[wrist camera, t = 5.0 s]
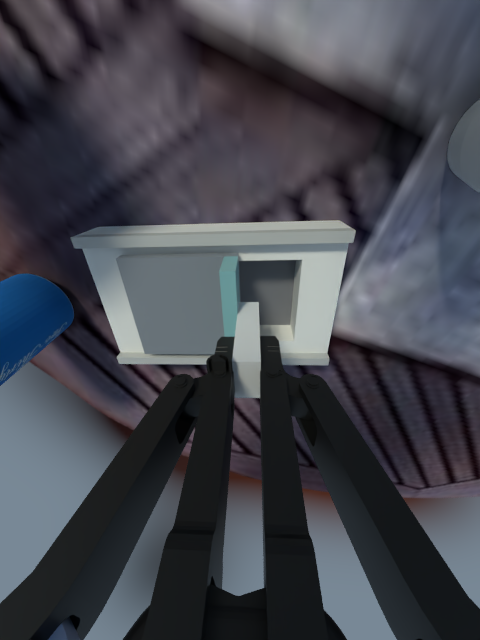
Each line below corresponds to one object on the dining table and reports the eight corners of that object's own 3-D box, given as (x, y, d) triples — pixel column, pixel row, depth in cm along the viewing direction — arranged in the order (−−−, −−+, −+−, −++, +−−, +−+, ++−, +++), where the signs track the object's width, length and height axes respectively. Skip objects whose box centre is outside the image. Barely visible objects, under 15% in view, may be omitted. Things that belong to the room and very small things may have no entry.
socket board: (98, 226, 21) (70, 237, 18) (338, 220, 20) (355, 230, 16) (135, 340, 27) (119, 363, 24) (318, 340, 26) (328, 365, 23)
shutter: (120, 255, 19) (92, 273, 15) (238, 252, 18) (235, 271, 15) (147, 348, 23) (131, 377, 20) (242, 348, 23) (240, 378, 20)
